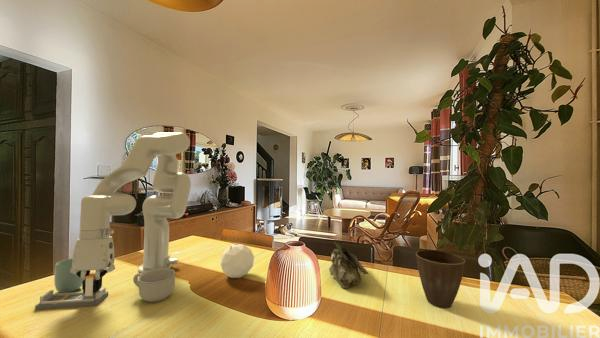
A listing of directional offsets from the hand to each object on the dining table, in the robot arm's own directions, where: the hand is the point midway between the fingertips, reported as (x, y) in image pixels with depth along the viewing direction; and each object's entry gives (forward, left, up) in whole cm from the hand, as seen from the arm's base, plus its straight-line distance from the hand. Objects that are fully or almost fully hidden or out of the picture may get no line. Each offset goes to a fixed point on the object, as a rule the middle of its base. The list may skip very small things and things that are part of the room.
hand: (91, 290), depth 81 cm
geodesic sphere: (-45, -14, -4) cm, 47 cm away
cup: (+11, -9, -4) cm, 15 cm away
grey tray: (+5, 0, -3) cm, 6 cm away
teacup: (-18, 0, -4) cm, 18 cm away
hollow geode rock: (-91, -8, -4) cm, 91 cm away
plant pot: (-114, +18, -4) cm, 115 cm away
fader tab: (0, 0, -2) cm, 2 cm away
